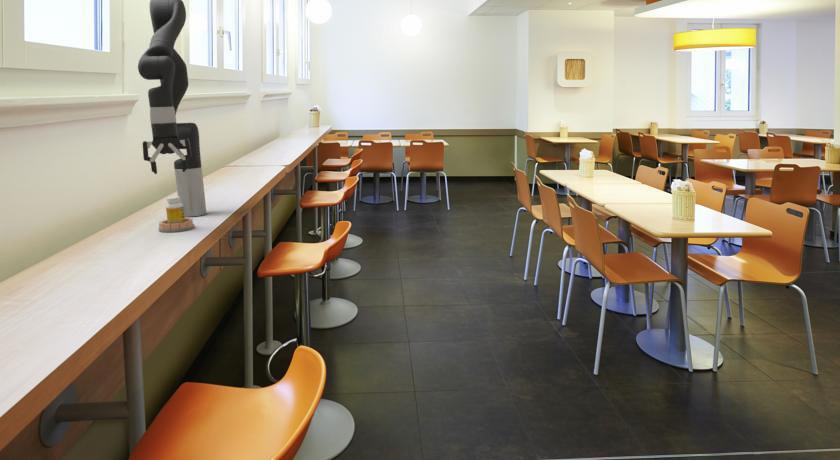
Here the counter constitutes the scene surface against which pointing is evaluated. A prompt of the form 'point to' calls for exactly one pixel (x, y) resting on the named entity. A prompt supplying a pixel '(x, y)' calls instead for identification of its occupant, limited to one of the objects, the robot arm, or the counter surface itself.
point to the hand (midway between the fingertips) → (170, 172)
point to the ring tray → (176, 226)
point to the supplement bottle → (174, 210)
